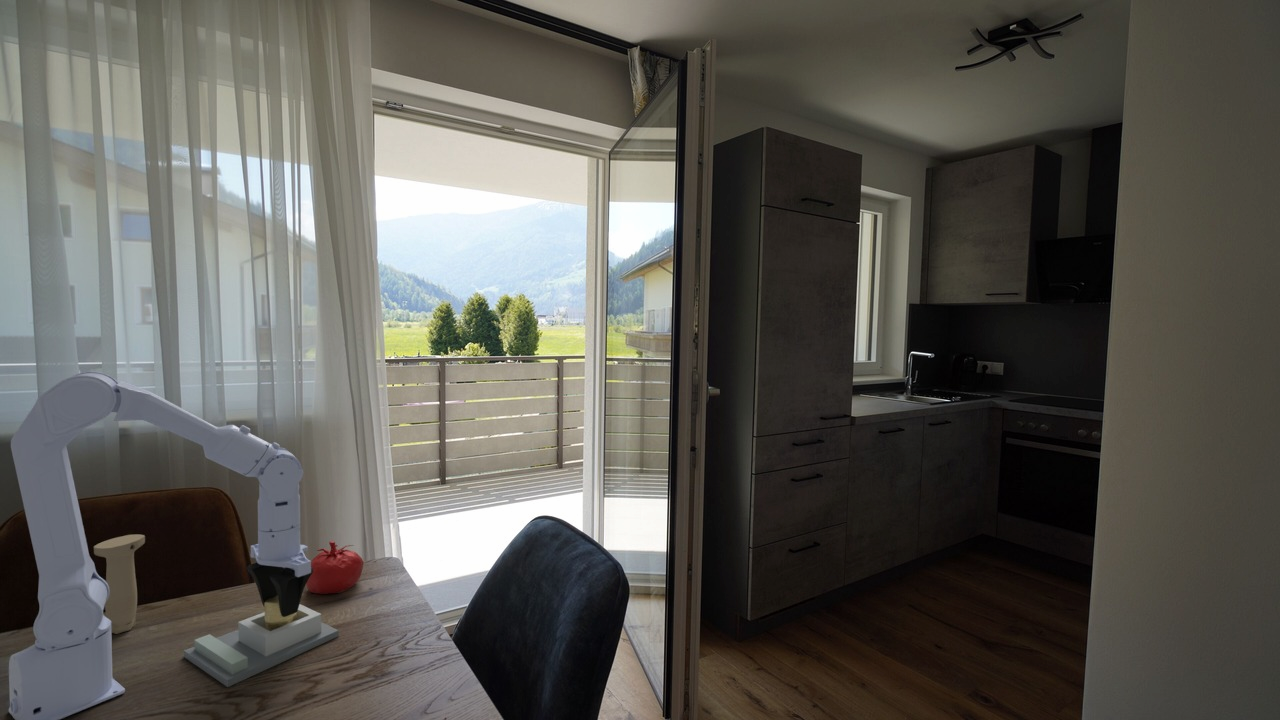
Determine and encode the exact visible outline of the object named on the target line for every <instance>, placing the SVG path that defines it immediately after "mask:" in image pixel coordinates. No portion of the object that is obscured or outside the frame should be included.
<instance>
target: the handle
mask: <svg viewBox="0 0 1280 720" xmlns="http://www.w3.org/2000/svg"><path fill="white" fill-rule="evenodd" d="M145 543H146V536H145V534H137V533H136V534H126V535H123V536H117V537H114V538H110V539H107V540H104V541H102V542H100V543H97V544H96V545H94V546H93V554H94V555H95V556H97V557H102V558H105V560H106V561H105V563H106V572H105V575H106V576H105V581H106V582H107V584H108V586H109V590H110V592H109V597H108V600H107V601H106V603H105V606H104V610H105V617H106V618H108V619H109V620H111V634H115V635H116V634H117V635H118V634H120V633H124V632H128V631H130V630H132V629H133V627H134V626H135V625H136V620H137V618H136V616H137V610H138V609H137V607H138V587H137V578H136V567H135V552H136V551H137V550H138V549H139V548H141V547H143V545H144V544H145Z"/></svg>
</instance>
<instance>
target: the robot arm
mask: <svg viewBox="0 0 1280 720" xmlns="http://www.w3.org/2000/svg"><path fill="white" fill-rule="evenodd" d="M111 413H115V416H114V419H113V421H115V422H124V421H125V422H126V421H144V422H147V423H149V424H152V425H154V426H156V427H159V428H161V429H163V430H166V431H167V432H171V433H173V434H175V435H176V436H179V437H181V438H184V439H187V440H189V441H191V442H193V443H196V444H198V445H200V446H202V447H203V448H202V449H203V452H204V457H205V458H206V459H208V460H210V461H211V462H214V463H216V464H218V465H221V466H223V467H225V468H227V469H229V470H231V471H234V472H236V473H238V474H240V475H242V476H244V477H248V478H256V479H257V480H258V482H259V484H258V486H259V487H258V488H259V489H258V491H259V492H258V493H259V494H258V495H259V497H258V499H257V543H256V544H252V545H250V558H251V559H252V558H253V559H255V560H256V562H254V563H251V564H249V565H247V567H246V570H247V571H248V573H249V574H250V576H251V577H252V579H253V581H254V583H255V585H256V587H257V590H258V594H259V597H260V601H261V604H262V605H263V608H265V601H266V600H267V599H269V598H271V597H273V596H276V595H278V599H279V607H280V612H281V615H282V616H283V617H286V616H289V615H291V614H294V613H296V612H297V611H298V608H299V604H300V603H301V599H302V595H303V592H304V590H305V587H306V586H307V584H306V583H307V581H308V579H309V578H310V576H311V574H312V573H313V568H312V567H311V561H312V560H310V559H308V558H307V557H306V554H305V552H307V551H308V546H307V545H305V544H301V495H300V483H301V481H302V479H303V476H304V474H305V473H304V472H305V471H304V469H303V468H302V464H301V462H300V460H299V459H298V458H297V457H296V456H295V455H294V454H293V453H292V452H291V451H289V450H288V449H287V448H284V447H281V445H280V444H279V443H277V442H272V443H270V442H268V441H266V440H264V439H262V438H260V437H258V436H257V435H254V434H252V433H251V428H249V427H248V426H246V425H244V424H242V425H240V427H238V426H237V425H235V424H227V425H224V426H216V425H214V424H212V423H210V422H208V421H206V420H204V419H203V418H201V417H200V416H197V415H195V414H193V413H192V412H189V411H187V410H185V409H184V408H182V407H180V406H178V405H177V404H175V403H172V402H171V401H169V400H167V399H165V398H163V397H162V396H159V395H157V394H155V393H154V392H151V391H150V390H147V389H145V388H143V387H139V386H137V385H135V384H132V383H130V382H127V381H124V380H120V381H118V380H116V379H115V378H114V376H111V375H109V374H106V373H103V372H100V371H85V372H80V373H76V374H75V375H73V376H70V377H67V378H65V379H63V380H61V381H59V382H57V383H56V384H55V385H54V386H52V387H51V388H49V389H48V390H46V391H45V392H44V393H41V395H39V396H38V398H37V399H36V401H35V403H34V405H33V406H32V408H31V409H30V411H29V412H28V414H27V415H26V417H25V419H24V420H23V421H22V423H21V424H20V426H19V428H17V430H16V431H15V433H14V435H12V438H11V439H10V450H11V454H12V458H13V459H12V460H13V463H14V467H15V473H16V477H17V481H18V486H19V491H20V495H21V500H22V503H23V509H24V513H25V517H26V522H27V527H28V531H29V535H30V539H31V544H32V549H33V553H34V559H35V562H36V567H37V572H38V590H37V591H38V592H37V601H38V604H39V610H38V614H37V615H36V618H35V620H34V623H33V627H32V628H33V629H32V630H33V634H34V636H35V642H34V644H32V645H30V646H28V647H27V648H25V649H22V650H20V651H18V652H16V653H13V654H11V655H10V657H9V661H8V682H9V683H8V687H9V688H8V689H9V708H8V712H9V714H10V716H12V718H13V719H14V720H62V719H65V718H66V717H69V716H71V715H74V714H76V713H79V712H81V711H83V710H86V709H88V708H92V707H93V706H96V705H98V704H101V703H103V702H106V701H108V700H110V699H113V698H115V697H117V696H120V695H122V694H124V693H125V692H126V688H125V687H123V686H122V685H121V684H120V683H119V682H118V681H116V680H115V678H114V677H113V651H112V650H113V646H112V645H113V644H112V643H113V640H112V633H111V620H109V619H108V618H106V615H105V614H104V610H105V603H106V601H107V600H108V597H109V592H110V590H109V586H108V584H107V582H106V579H104V578H103V577H101V576H100V575H99V574H98V571H97V569H96V566H95V562H94V560H93V559H92V558H91V556H90V553H89V552H90V551H89V547H88V542H87V537H86V534H85V528H84V525H83V519H82V513H81V510H80V504H79V500H78V495H77V492H76V491H77V490H76V485H75V481H74V477H73V472H72V468H71V467H72V466H71V461H70V457H69V453H68V448H67V446H68V444H70V443H71V442H72V441H73V439H75V438H76V437H77V436H78V435H79V434H80V433H81V432H82V431H83V430H84V429H86V428H88V427H91V426H92V425H94V424H96V423H98V422H99V421H101V420H103V419H105V418H106V417H108V416H109V415H110V414H111Z"/></svg>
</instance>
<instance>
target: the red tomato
mask: <svg viewBox="0 0 1280 720" xmlns="http://www.w3.org/2000/svg"><path fill="white" fill-rule="evenodd" d="M328 544H329V547H330V550H328V549H327V548H320V549H318V548H316V551H318V552H320V553H318V554H317V555H316V556H315V557H314V558H313V559H312V560H310V561H311V567H312V568H313V573H312V574H311V576H310V578H309V579H308V581H307V583H306V587H307V589H308V590H309V591H310V592H311V593H314V594H318V595H321V594H324V595H326V594H327V595H328V594H337V593H343V592H345V591H346V590H348V589H351V588H352V587H353V586H354V585H356V583H357V582H358V581H359V579H360V578H361V575H362V572H363V568H364V560H363V558H362V557H361V556H360V555H359V554H358V553H357V552H355V551H352V550H350V549H345V548H348V547H353V546H355V545H354V544H352V545H351V544H349V545H345V546H342V547H341V548H339V549H338V544H336V542H335V541H333V540H331V541H329V542H328Z"/></svg>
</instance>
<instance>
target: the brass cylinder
mask: <svg viewBox="0 0 1280 720" xmlns="http://www.w3.org/2000/svg"><path fill="white" fill-rule="evenodd" d="M264 612H265V629H266V630H268V631H272V630H275V629H277V628H280V627H282V626H284V625H287V624H289V623H292V622H294V621H297V612H296V613H294V614H291V615H289V616H286V617H283V616H282V615H281V612H280V607H279V599H278V595H276V596H273V597H271V598H269V599H267V600H266V601H265V607H264Z"/></svg>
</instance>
